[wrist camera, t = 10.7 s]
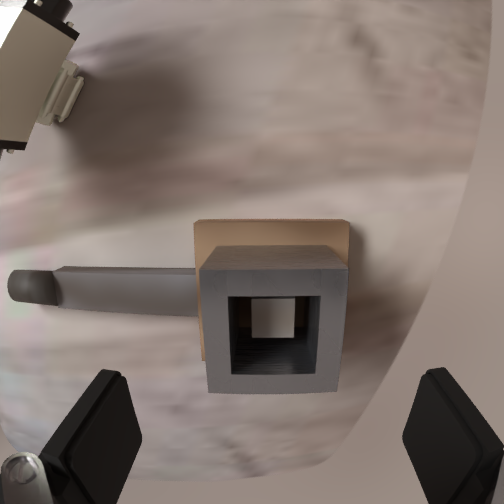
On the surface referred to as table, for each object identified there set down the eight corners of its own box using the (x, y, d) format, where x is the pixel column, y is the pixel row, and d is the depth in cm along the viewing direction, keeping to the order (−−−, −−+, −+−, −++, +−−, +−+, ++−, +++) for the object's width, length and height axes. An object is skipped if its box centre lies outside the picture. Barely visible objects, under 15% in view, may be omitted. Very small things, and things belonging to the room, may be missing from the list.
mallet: (19, 226, 23) (-23, 237, 18) (342, 219, 22) (365, 230, 17) (36, 331, 25) (3, 355, 20) (333, 347, 24) (349, 386, 19)
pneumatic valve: (117, 39, 20) (33, -30, 8) (54, 169, 22) (-59, 172, 11) (72, 28, 20) (-12, -27, 8) (16, 147, 22) (-88, 144, 10)
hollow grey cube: (216, 245, 21) (198, 269, 15) (325, 244, 21) (348, 268, 15) (221, 343, 22) (208, 392, 17) (320, 342, 22) (336, 391, 16)
